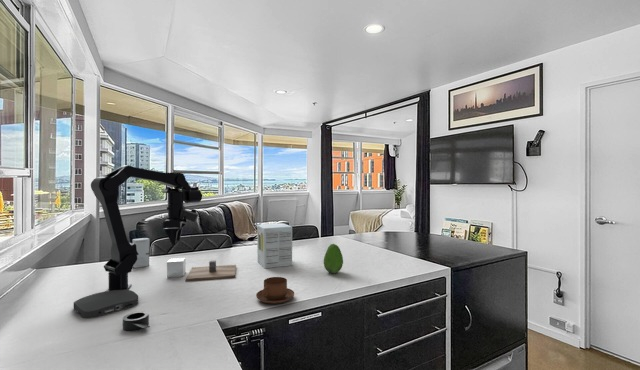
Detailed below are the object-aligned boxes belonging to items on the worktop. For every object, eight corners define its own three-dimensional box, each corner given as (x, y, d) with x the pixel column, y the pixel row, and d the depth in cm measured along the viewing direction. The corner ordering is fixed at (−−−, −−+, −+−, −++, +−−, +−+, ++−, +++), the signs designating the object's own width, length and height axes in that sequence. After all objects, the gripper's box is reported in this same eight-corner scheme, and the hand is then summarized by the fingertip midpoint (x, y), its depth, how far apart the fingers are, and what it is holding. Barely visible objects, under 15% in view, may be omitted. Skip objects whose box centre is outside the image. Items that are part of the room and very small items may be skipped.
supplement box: (256, 261, 147) (256, 224, 147) (283, 258, 152) (283, 222, 152) (264, 268, 135) (263, 228, 135) (293, 265, 140) (292, 226, 140)
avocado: (335, 277, 123) (335, 246, 123) (320, 273, 128) (319, 244, 128) (346, 272, 129) (346, 243, 129) (331, 269, 134) (331, 241, 134)
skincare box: (134, 268, 136) (134, 240, 135) (131, 266, 139) (131, 239, 139) (150, 265, 140) (149, 238, 140) (147, 263, 143) (147, 237, 143)
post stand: (235, 277, 122) (235, 265, 122) (185, 281, 118) (185, 268, 118) (235, 267, 138) (235, 255, 137) (192, 269, 133) (192, 258, 133)
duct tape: (155, 317, 87) (155, 306, 87) (149, 333, 78) (149, 321, 78) (123, 321, 85) (123, 310, 85) (113, 338, 75) (113, 326, 75)
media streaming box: (124, 294, 105) (124, 285, 105) (142, 305, 96) (142, 295, 96) (70, 308, 94) (70, 298, 94) (84, 322, 84) (84, 311, 84)
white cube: (182, 276, 124) (182, 261, 124) (167, 277, 123) (166, 262, 123) (185, 272, 130) (185, 257, 130) (170, 273, 128) (170, 258, 128)
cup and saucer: (287, 308, 93) (287, 287, 93) (249, 305, 95) (249, 285, 95) (298, 294, 105) (298, 275, 105) (264, 291, 107) (264, 273, 107)
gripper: (193, 205, 119) (194, 246, 119) (199, 202, 137) (200, 237, 137) (161, 206, 116) (162, 248, 116) (172, 202, 134) (172, 238, 134)
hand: (176, 242), depth 126 cm, fingers open, 9 cm apart
